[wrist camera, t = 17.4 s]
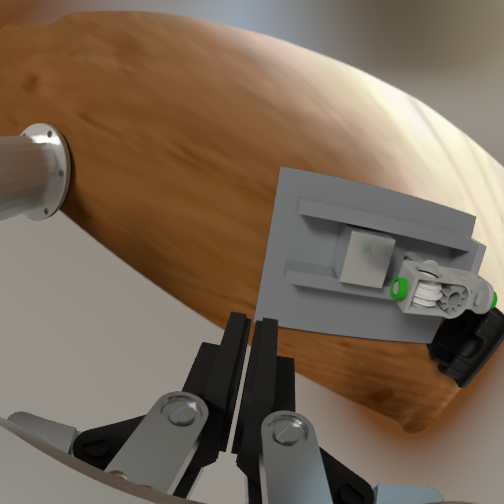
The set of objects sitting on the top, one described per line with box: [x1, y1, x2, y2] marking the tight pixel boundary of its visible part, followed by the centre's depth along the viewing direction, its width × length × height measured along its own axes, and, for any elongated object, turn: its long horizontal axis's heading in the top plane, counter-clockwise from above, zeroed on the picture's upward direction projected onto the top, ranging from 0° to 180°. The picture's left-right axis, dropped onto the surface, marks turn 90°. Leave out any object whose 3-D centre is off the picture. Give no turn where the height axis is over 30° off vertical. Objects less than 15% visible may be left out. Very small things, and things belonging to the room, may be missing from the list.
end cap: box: [427, 307, 504, 388], centre depth 26 cm, size 10×7×7 cm
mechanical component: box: [390, 249, 497, 319], centre depth 22 cm, size 3×10×10 cm, turn 83°
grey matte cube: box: [332, 222, 396, 288], centre depth 25 cm, size 4×4×4 cm
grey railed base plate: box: [254, 166, 486, 344], centre depth 26 cm, size 22×16×5 cm
